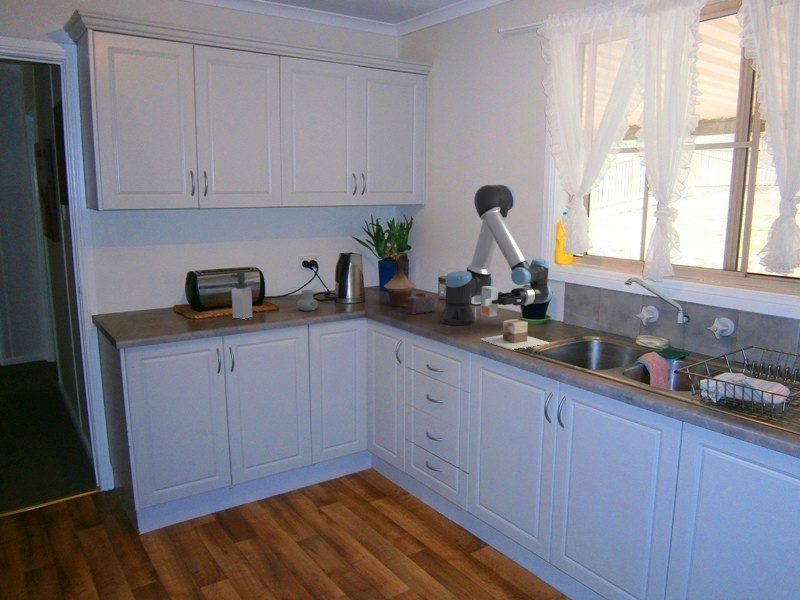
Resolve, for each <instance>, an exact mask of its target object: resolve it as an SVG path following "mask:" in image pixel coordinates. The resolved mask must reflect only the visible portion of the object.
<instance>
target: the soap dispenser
mask: <svg viewBox="0 0 800 600" xmlns="http://www.w3.org/2000/svg"><path fill="white" fill-rule="evenodd" d="M245 274H246V272H245V271H238V272H236V274H235V273H234V274H230V278H236V279H237V283H236V284H235V287H234V288H231V302H232V303H231V305H232V319H233V318H240V319H245V318H249V317H252V318H253V297H252V295H253V294H252V292H253V291H252V287H249V286H248V284H247V283H245V281H246V279H245V278H246V277H245ZM240 319H239V320H240ZM249 319H250V318H249ZM245 320H246V319H245Z"/></svg>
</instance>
